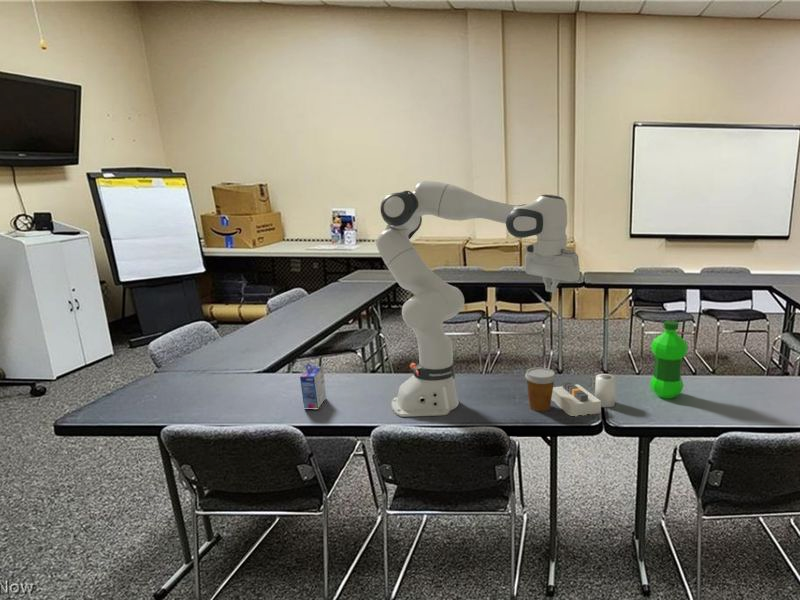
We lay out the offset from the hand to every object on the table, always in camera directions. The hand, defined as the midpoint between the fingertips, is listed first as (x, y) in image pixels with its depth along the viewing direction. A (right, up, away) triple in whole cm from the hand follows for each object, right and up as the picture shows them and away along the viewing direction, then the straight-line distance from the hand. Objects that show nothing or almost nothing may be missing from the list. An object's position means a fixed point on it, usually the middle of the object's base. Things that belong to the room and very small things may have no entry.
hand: (550, 291), depth 163 cm
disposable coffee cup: (-2, -38, +4) cm, 38 cm away
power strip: (+8, -36, +8) cm, 38 cm away
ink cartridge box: (-77, -39, +15) cm, 87 cm away
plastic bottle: (+40, -34, +8) cm, 54 cm away
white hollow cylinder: (+19, -36, +4) cm, 41 cm away
